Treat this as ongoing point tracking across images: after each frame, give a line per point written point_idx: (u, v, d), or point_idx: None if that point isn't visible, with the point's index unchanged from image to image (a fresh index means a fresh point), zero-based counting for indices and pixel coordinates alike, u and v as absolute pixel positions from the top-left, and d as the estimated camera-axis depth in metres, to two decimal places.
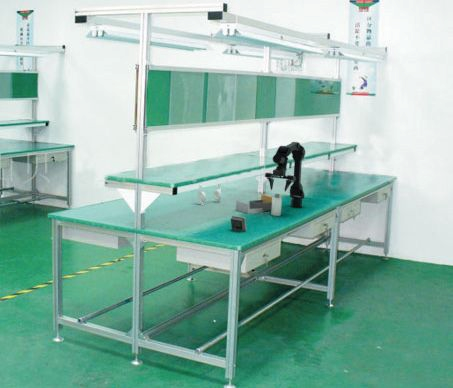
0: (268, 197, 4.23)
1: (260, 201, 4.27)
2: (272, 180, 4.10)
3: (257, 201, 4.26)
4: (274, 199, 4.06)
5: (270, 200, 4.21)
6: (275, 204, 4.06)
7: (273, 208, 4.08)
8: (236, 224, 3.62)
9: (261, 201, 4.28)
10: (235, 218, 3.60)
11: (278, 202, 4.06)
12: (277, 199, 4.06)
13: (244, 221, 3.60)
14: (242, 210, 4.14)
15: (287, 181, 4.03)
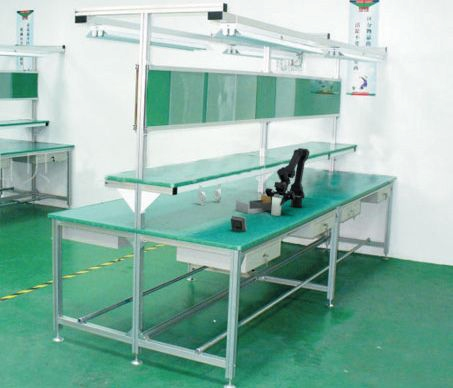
0: (268, 197, 4.23)
1: (260, 201, 4.27)
2: (273, 196, 4.13)
3: (257, 201, 4.26)
4: (274, 199, 4.06)
5: (270, 200, 4.21)
6: (275, 204, 4.06)
7: (273, 208, 4.08)
8: (236, 224, 3.62)
9: (261, 201, 4.28)
10: (235, 218, 3.60)
11: (278, 202, 4.06)
12: (277, 199, 4.06)
13: (244, 221, 3.60)
14: (242, 210, 4.14)
15: (284, 195, 4.07)
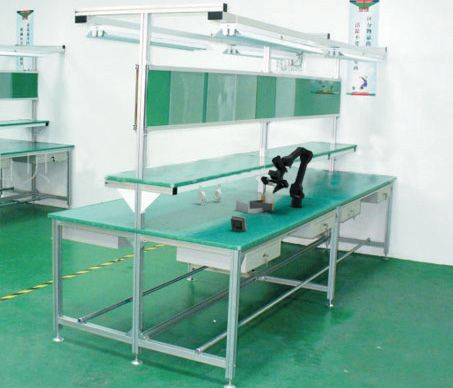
0: None
1: (260, 201, 4.27)
2: None
3: (257, 201, 4.26)
4: (267, 187, 4.10)
5: None
6: (268, 192, 4.10)
7: (266, 196, 4.11)
8: (236, 224, 3.62)
9: (261, 201, 4.28)
10: (235, 218, 3.60)
11: (270, 190, 4.09)
12: (270, 187, 4.09)
13: (244, 221, 3.60)
14: (242, 210, 4.14)
15: (277, 183, 4.09)
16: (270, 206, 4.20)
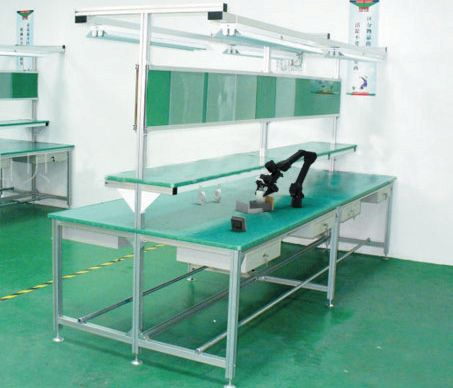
0: (268, 197, 4.23)
1: None
2: None
3: None
4: (257, 192, 4.19)
5: (270, 200, 4.21)
6: (257, 197, 4.19)
7: (256, 201, 4.21)
8: (236, 224, 3.62)
9: None
10: (235, 218, 3.60)
11: (259, 195, 4.18)
12: (259, 192, 4.18)
13: (244, 221, 3.60)
14: (242, 210, 4.14)
15: (268, 187, 4.16)
16: (270, 206, 4.20)
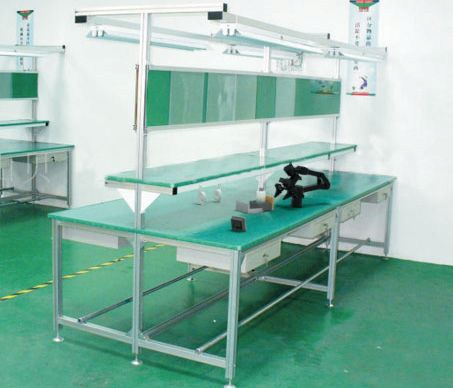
0: (268, 197, 4.23)
1: None
2: (279, 191, 4.36)
3: None
4: (257, 192, 4.19)
5: (270, 200, 4.21)
6: (257, 197, 4.19)
7: (256, 201, 4.20)
8: (236, 224, 3.62)
9: None
10: (235, 218, 3.60)
11: (260, 195, 4.18)
12: (259, 192, 4.18)
13: (244, 221, 3.60)
14: (242, 210, 4.14)
15: (288, 190, 4.26)
16: (270, 206, 4.20)
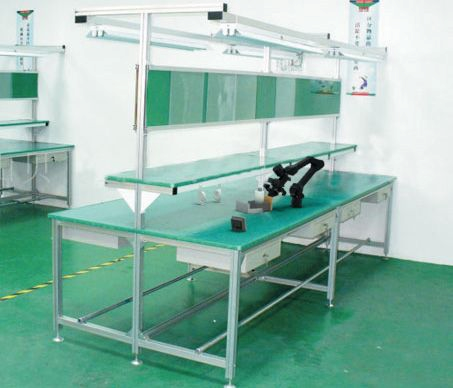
0: (267, 197, 4.22)
1: None
2: None
3: None
4: (255, 192, 4.18)
5: (269, 200, 4.21)
6: (256, 197, 4.18)
7: (255, 201, 4.20)
8: (236, 224, 3.62)
9: None
10: (235, 218, 3.60)
11: (258, 196, 4.17)
12: (258, 192, 4.17)
13: (244, 221, 3.60)
14: (242, 210, 4.14)
15: (272, 190, 4.24)
16: (269, 206, 4.20)
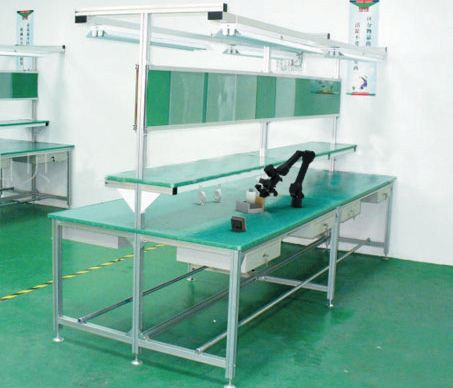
0: (258, 198, 4.18)
1: None
2: None
3: None
4: (247, 193, 4.15)
5: (260, 201, 4.17)
6: (247, 198, 4.14)
7: (246, 202, 4.16)
8: (236, 224, 3.62)
9: None
10: (235, 218, 3.60)
11: (249, 196, 4.13)
12: (249, 193, 4.13)
13: (244, 221, 3.60)
14: (242, 210, 4.14)
15: (263, 190, 4.20)
16: (260, 207, 4.16)
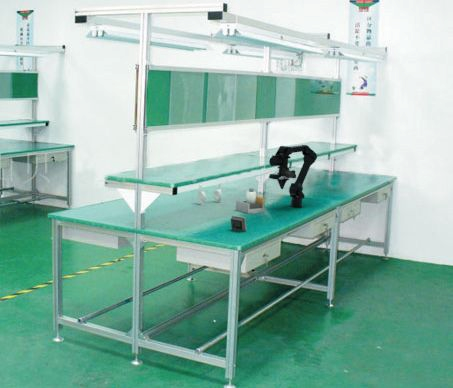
0: (258, 198, 4.18)
1: None
2: None
3: None
4: (247, 193, 4.15)
5: (260, 201, 4.17)
6: (247, 198, 4.14)
7: (246, 202, 4.16)
8: (236, 224, 3.62)
9: None
10: (235, 218, 3.60)
11: (250, 196, 4.13)
12: (249, 193, 4.13)
13: (244, 221, 3.60)
14: (242, 210, 4.14)
15: (286, 180, 4.27)
16: (260, 207, 4.16)
